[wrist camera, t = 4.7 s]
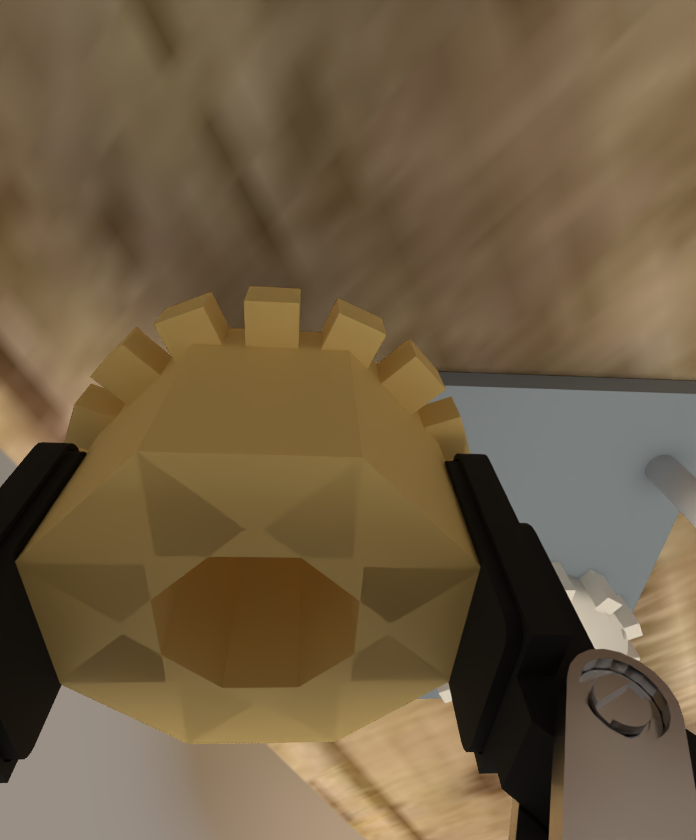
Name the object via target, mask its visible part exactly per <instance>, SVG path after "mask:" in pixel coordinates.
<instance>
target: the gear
mask: <svg viewBox="0 0 696 840" xmlns="http://www.w3.org/2000/svg"><path fill="white" fill-rule="evenodd" d="M300 301H301V289H296V288H276V287H256V286H249V289H248V291H247V294H246V296H245V299H244V318H245V329H237V328H229V326H228V324H227V322H226V320H225V318H224V316H223V314H222V312H221V310H220V308H219V306H218V304H217V302H216V300H215V298H214V296H213V294H212V292H209V293H207V294H204V295H201V296H198V297H196V298H193V299H190V300H187V301H184V302H182V303H179V304H176V305H173V306H171V307H168V308H166V309H165V310H164V311H163V313H162V314H161V315H160V317H159V318H158V319H157V320H156V322H155V323H154V326H155V328H156V330H157V331H158V333H159V335H160V337H161V338H162V340H163V342H164V344H165V345H166V347H167V349H168V351H169V353H170V354H171V356H172V357H171V356H170V355H169V354H168V353H167V352H165V351H164V350H163V349H162V348H161V347H160V346H158V345H157V344H156V343H155V342H154V341H152V340H151V339H150V338H149V337H148V336H147V335H145V334H144V333H143V332H142V331H141V330H139V329H138V328H137V327H136V328H135V329H134V330H133V331H132V332H131V333H130V334H129V335H128V336H127V337H126V338H125V339H124V340H123V341H122V342H121V343H120V344H119V345H118V346H117V347H116V348H115V349H114V350H113V351H112V352H111V353H110V354H109V355H108V356H107V357H106V359H105V360H104V361H103V362H102V363H101V364H100V366H99V367H98V368H97V369H96V370H95V372H94V373H93V374H92V375H91V376H90V377H91V378H93V379H94V380H95V381H97V382H98V383H99V384H100V385H102V386H103V387H104V388H106V389H104V388H102V387H99V386H96V385H93V384H91V385H90V386H89V387H88V388H87V389H86V391H85V392H84V393H83V394H82V396H81V397H80V398H79V399H78V400H77V402H76V403H75V404H74V408H73V412H72V416H71V419H70V423H69V427H68V431H67V435H66V438H65V443H73V444H75V445H76V446H77V447H80V450H79V451H84V452H86V453H87V454H86V456H85V457H84V459H83V460H82V462H81V463H80V465H79V466H78V468H77V469H76V471H75V472H74V474H73V475H72V477H71V478H70V480H69V481H68V483H67V484H66V486H65V487H64V489H63V490H62V492H61V493H60V495H59V496H58V498H57V499H56V501H55V502H54V504H53V505H52V507H51V508H50V510H49V511H48V513H47V514H46V516H45V517H44V519H43V520H42V522H41V523H40V525H39V526H38V528H37V529H36V531H35V532H34V534H33V535H32V537H31V538H30V540H29V541H28V543H27V544H26V546H25V547H24V549H23V550H22V552H21V554H20V555H19V557H18V558H17V560H16V561H15V563H16V565H17V568H18V571H19V574H20V576H21V579H22V582H23V584H24V587H25V590H26V593H27V595H28V598H29V601H30V603H31V606H32V609H33V612H34V614H35V617H36V620H37V622H38V625H39V628H40V631H41V633H42V636H43V639H44V641H45V644H46V647H47V650H48V652H49V655H50V658H51V660H52V663H53V666H54V669H55V671H56V674H57V677H58V679H59V682H60V684H61V685H63V686H65V687H68V688H70V689H72V690H74V691H76V692H78V693H81V694H82V695H85V696H87V697H89V698H91V699H93V700H95V701H97V702H100V703H102V704H104V705H106V706H108V707H110V708H112V709H114V710H117V711H119V712H121V713H123V714H125V715H127V716H130V717H132V718H134V719H136V720H138V721H140V722H142V723H145V724H146V725H149V726H151V727H153V728H155V729H157V730H159V731H161V732H164V733H166V734H168V735H170V736H172V737H174V738H176V739H179V740H181V741H183V742H185V743H187V744H214V743H215V744H217V743H286V742H335V741H337V740H339V739H341V738H343V737H345V736H347V735H349V734H351V733H352V732H354V731H356V730H358V729H360V728H362V727H364V726H366V725H368V724H370V723H371V722H373V721H375V720H377V719H379V718H381V717H383V716H385V715H387V714H389V713H391V712H392V711H394V710H396V709H398V708H400V707H402V706H404V705H406V704H408V703H410V702H411V701H413V700H415V699H417V698H419V697H421V696H423V695H425V694H427V693H429V692H430V691H432V690H434V689H436V688H438V687H440V686H442V685H444V684H446V683H448V682H449V680H450V676H451V673H452V669H453V665H454V662H455V658H456V654H457V651H458V647H459V643H460V640H461V636H462V632H463V629H464V625H465V622H466V618H467V614H468V611H469V607H470V603H471V600H472V596H473V592H474V589H475V585H476V582H477V578H478V574H479V571H480V567H481V566H480V563H479V560H478V558H477V555H476V552H475V549H474V546H473V543H472V540H471V537H470V535H469V532H468V529H467V526H466V523H465V520H464V517H463V514H462V512H461V509H460V506H459V503H458V500H457V497H456V494H455V492H454V489H453V486H452V483H451V480H450V477H449V474H448V471H447V469H446V466H445V461H453V458H454V456H455V455H456V454H457V453H460V454H470V450H469V446H468V442H467V438H466V435H465V431H464V427H463V423H462V420H461V416H460V414H459V412H458V409H457V407H456V405H455V403H454V401H453V398H452V396H451V397H448V398H445V399H441V400H438V401H435V402H432V403H429V404H427V403H428V402H430V401H431V400H432V399H434V398H435V397H437V396H438V395H439V394H441V393H442V392H443V391H445V390H446V388H445V386H444V384H443V382H442V379H441V377H440V375H439V373H438V370H437V369H436V368H435V367H434V366H433V365H432V364H431V362H430V361H429V360H428V359H427V358H426V357H425V356H424V355H423V353H422V352H421V351H420V350H419V349H418V348H417V347H416V345H415V344H414V343H413V342H412V341H411V340H410V339H408V340H407V341H406V342H405V343H403V344H402V345H401V346H400V347H398V348H397V349H396V350H395V351H393V352H392V353H391V354H390V355H388V356H387V357H386V358H385V359H383V360H382V361H381V362H380V363H378V364H376V363H375V362H374V361H373V358H374V356H375V354H376V353H377V351H378V349H379V347H380V346H381V344H382V342H383V340H384V338H385V337H386V335H387V334H386V331H385V328H384V324H383V321H382V318H380V317H378V316H376V315H374V314H372V313H369V312H367V311H365V310H363V309H361V308H359V307H357V306H354V305H352V304H350V303H348V302H346V301H344V300H341V299H339V298H337V300H336V302H335V304H334V306H333V309H332V311H331V313H330V315H329V317H328V319H327V321H326V323H325V325H324V327H323V329H322V331H321V332H306V331H300Z"/></svg>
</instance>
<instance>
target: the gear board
mask: <svg viewBox="0 0 696 840" xmlns="http://www.w3.org/2000/svg"><path fill="white" fill-rule="evenodd" d="M438 373H439V375H440V377H441V379H442V382H443V384H444V386H445V388H446V390H445V391H443V392H442V393H441V394H439V395H438V396H437V397H435V398H434V399H432V400H431V401H430V402H428V403H427V404H429V403H432V402H435V401H438V400H441V399H445V398H448V397H451V396H452V398H453V401H454V403H455V405H456V407H457V409H458V412H459V414H460V416H461V420H462V423H463V427H464V431H465V435H466V438H467V442H468V446H469V450H470V454H485V455H487V456H488V458H489V460H490V462H491V464H492V466H493V468H494V470H495V472H496V474H497V477H498V479H499V481H500V483H501V485H502V487H503V489H504V491H505V493H506V495H507V497H508V500H509V502H510V504H511V506H512V508H513V510H514V512H515V514H516V516H517V518H518V521H519V523H528V524H530V525H531V526H532V527H533V529H534V530H535V532H536V533H537V535H538V537H539V539H540V541H541V543H542V545H543V547H544V549H545V551H546V553H547V555H548V557H549V559H550V561H551V563H552V565H553V567H554V569H555V571H556V573H557V575H558V577H559V579H560V581H561V583H562V585H563V587H564V589H565V591H566V593H567V595H568V597H569V599H570V601H571V603H572V605H573V607H574V609H575V611H576V613H577V614H578V616H579V618H580V620H581V622H582V624H583V626H584V628H585V630H586V632H587V634H588V636H589V638H590V640H591V642H592V644H593V646H594V648H595V649H607V650H612V651H616V652H621V653H623V654H625V655H627V656H629V657H632V658H634V659H636V660H638V661H639V659H640V657H639V655H638V653H637V652H636V650H635V648H634V647H633V645H632V644H631V642H630V639H633V638H636V637H639V636H642V635H643V634H642V631H641V628H640V625H639V622H638V621H637V619H636V618H635V616H634V615H633V613H632V612H633V610H634V608H635V606H636V604H637V601H638V599H639V597H640V595H641V593H642V591H643V589H644V586H645V584H646V582H647V580H648V578H649V576H650V574H651V571H652V569H653V567H654V565H655V563H656V561H657V558H658V556H659V554H660V552H661V550H662V548H663V546H664V543H665V541H666V539H667V537H668V535H669V533H670V531H671V528H672V526H673V524H674V522H675V520H676V518H677V516H678V513H679V511H680V512H681V513H682V514H683V515H684V516H685V517H686V518H687V519H688V520H689V521H690V522H691V523H692V524H693V525H694V526H695V527H696V381H685V380H657V379H629V378H601V377H573V376H546V375H518V374H490V373H462V372H438ZM428 698H442V699H443V701H444V702H445V703H447V702H450V701H452V697H451V693H450V688H449V684H448V683H446V684H444V685H442V686H440V687H438V688H436V689H434V690H432V691H430V692H429V693H427V694H425V695H423V696H421V697H419V698H417V699H428Z"/></svg>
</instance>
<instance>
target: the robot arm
mask: <svg viewBox="0 0 696 840" xmlns="http://www.w3.org/2000/svg"><path fill="white" fill-rule="evenodd" d="M86 454H87V453H86V452H84V451H79V449H78V447H77V446H76V445H75V444H73V443H45V442H42V443H38V444H37V445H36V446H34V448H33V449H32V450H31V451H30V452H29V454H28V455H27V456H26V457H25V458H24V460H23V461H22V462H21V463H20V464H19V466H18V467H17V468H16V469H15V470H14V472H13V473H12V474H11V475H10V476H9V478H8V479H7V480H6V481H5V483H4V484H3V485H2V486H1V487H0V783H8V781H9V778H10V776H11V774H12V772H13V769H14V768H15V765H16V763H17V761H18V759H25V758H27V757H28V755H29V754H30V753H31V751H32V749H33V748H34V746H35V743H36V741H37V739H38V737H39V734H40V732H41V730H42V727H43V725H44V723H45V721H46V718H47V716H48V714H49V712H50V709H51V707H52V705H53V703H54V700H55V698H56V696H57V694H58V691H59V689H60V687H61V684H60V682H59V679H58V677H57V674H56V671H55V669H54V666H53V663H52V660H51V658H50V655H49V652H48V650H47V647H46V644H45V641H44V639H43V636H42V633H41V631H40V628H39V625H38V622H37V620H36V617H35V614H34V612H33V609H32V606H31V603H30V601H29V598H28V595H27V593H26V590H25V587H24V584H23V582H22V579H21V576H20V574H19V571H18V568H17V565H16V563H15V561H16V560H17V558H18V557H19V555H20V554H21V552H22V550H23V549H24V547H25V546H26V544H27V543H28V541H29V540H30V538H31V537H32V535H33V534H34V532H35V531H36V529H37V528H38V526H39V525H40V523H41V522H42V520H43V519H44V517H45V516H46V514H47V513H48V511H49V510H50V508H51V507H52V505H53V504H54V502H55V501H56V499H57V498H58V496H59V495H60V493H61V492H62V490H63V489H64V487H65V486H66V484H67V483H68V481H69V480H70V478H71V477H72V475H73V474H74V472H75V471H76V469H77V468H78V466H79V465H80V463H81V462H82V460H83V459H84V457H85V456H86ZM445 466H446V469H447V471H448V474H449V477H450V480H451V483H452V486H453V489H454V492H455V494H456V497H457V500H458V503H459V506H460V509H461V512H462V514H463V517H464V520H465V523H466V526H467V529H468V532H469V535H470V537H471V540H472V543H473V546H474V549H475V552H476V555H477V558H478V560H479V563H480V566H481V567H480V571H479V574H478V578H477V582H476V585H475V589H474V592H473V596H472V600H471V603H470V607H469V611H468V614H467V618H466V622H465V625H464V629H463V632H462V636H461V640H460V643H459V647H458V651H457V654H456V658H455V662H454V665H453V669H452V673H451V676H450V680H449V682H448V684H449V688H450V693H451V697H452V702H453V706H454V711H455V715H456V720H457V724H458V729H459V733H460V738H461V742H462V745H463V748H464V750H465V751H466V752H474V754H475V758H476V762H477V766H478V770H479V774H481V773H498V776H499V780H500V783H501V787H502V789H503V790H504V791H505V792H507V793H508V794H509V795H510V796H511V797H512V798H513V800H512V810H511V820H510V829H509V839H508V840H696V735H694V734H693V733H691V732H690V731H688V730H687V729H685V723H684V718H683V715H682V712H681V709H680V706H679V703H678V701H677V699H676V698H675V696H674V695H673V693H672V692H671V690H670V689H669V687H668V686H667V685H666V684H665V683H664V682H663V681H662V680H661V679H660V677H659V676H658V675H657V674H656V673H655V672H654V671H652V670H651V669H649V668H648V667H646V666H645V665H644V664H642V663H641V662H639V661H638V660H636V659H634V658H632V657H629V656H627V655H625V654H623V653H621V652H616V651H612V650H607V649H595V648H594V646H593V644H592V642H591V640H590V638H589V636H588V634H587V632H586V630H585V628H584V626H583V624H582V622H581V620H580V618H579V616H578V614H577V613H576V611H575V609H574V607H573V605H572V603H571V601H570V599H569V597H568V595H567V593H566V591H565V589H564V587H563V585H562V583H561V581H560V579H559V577H558V575H557V573H556V571H555V569H554V567H553V565H552V563H551V561H550V559H549V557H548V555H547V553H546V551H545V549H544V547H543V545H542V543H541V541H540V539H539V537H538V535H537V533H536V532H535V530H534V529H533V527H532V526H531V525H530V524H528V523H519V521H518V518H517V516H516V514H515V512H514V510H513V508H512V506H511V504H510V502H509V500H508V497H507V495H506V493H505V491H504V489H503V487H502V485H501V483H500V481H499V479H498V477H497V474H496V472H495V470H494V468H493V466H492V464H491V462H490V460H489V458H488V456H487V455H485V454H460V453H457V454H456V455H455V456H454V458H453V461H445Z"/></svg>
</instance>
